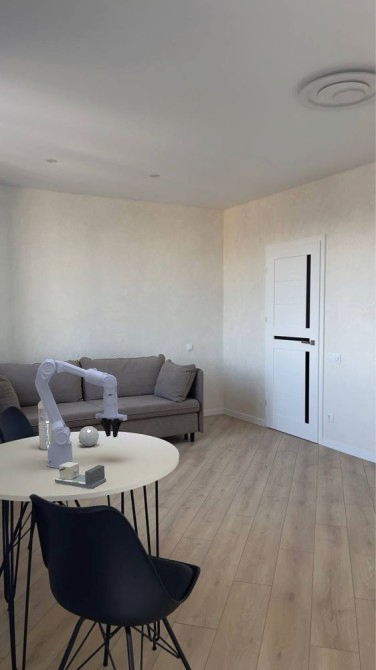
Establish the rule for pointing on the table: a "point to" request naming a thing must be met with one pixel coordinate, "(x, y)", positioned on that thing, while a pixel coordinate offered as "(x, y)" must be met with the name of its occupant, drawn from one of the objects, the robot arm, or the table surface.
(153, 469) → the table surface
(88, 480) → the grey rectangular block
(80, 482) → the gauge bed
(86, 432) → the glossy grey ball
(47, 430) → the water bottle
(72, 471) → the off-white block with tab
